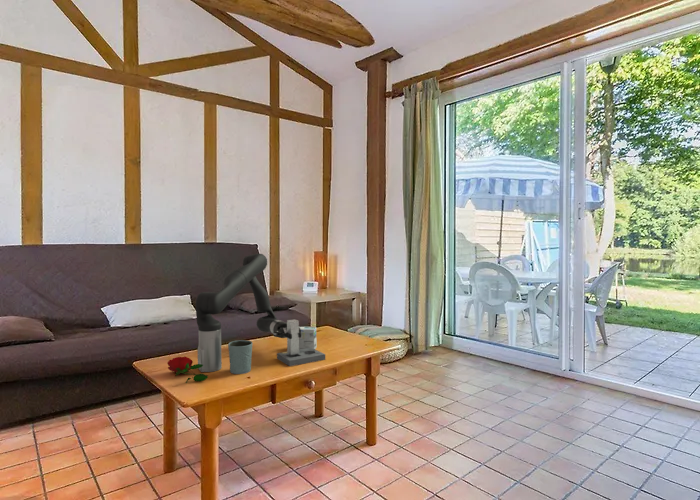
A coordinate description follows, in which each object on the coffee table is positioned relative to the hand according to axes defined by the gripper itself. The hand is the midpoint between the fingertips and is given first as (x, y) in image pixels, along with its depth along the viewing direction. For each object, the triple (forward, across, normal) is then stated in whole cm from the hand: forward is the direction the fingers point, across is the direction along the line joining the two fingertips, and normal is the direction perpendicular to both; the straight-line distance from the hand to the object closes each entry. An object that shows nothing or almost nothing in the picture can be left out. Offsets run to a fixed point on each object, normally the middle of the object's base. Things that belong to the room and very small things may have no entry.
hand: (295, 335), depth 193 cm
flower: (-3, -45, +12) cm, 47 cm away
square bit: (-3, 0, +8) cm, 9 cm away
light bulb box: (-17, +14, +12) cm, 26 cm away
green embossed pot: (-2, -25, +12) cm, 28 cm away
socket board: (-3, +4, +12) cm, 13 cm away
